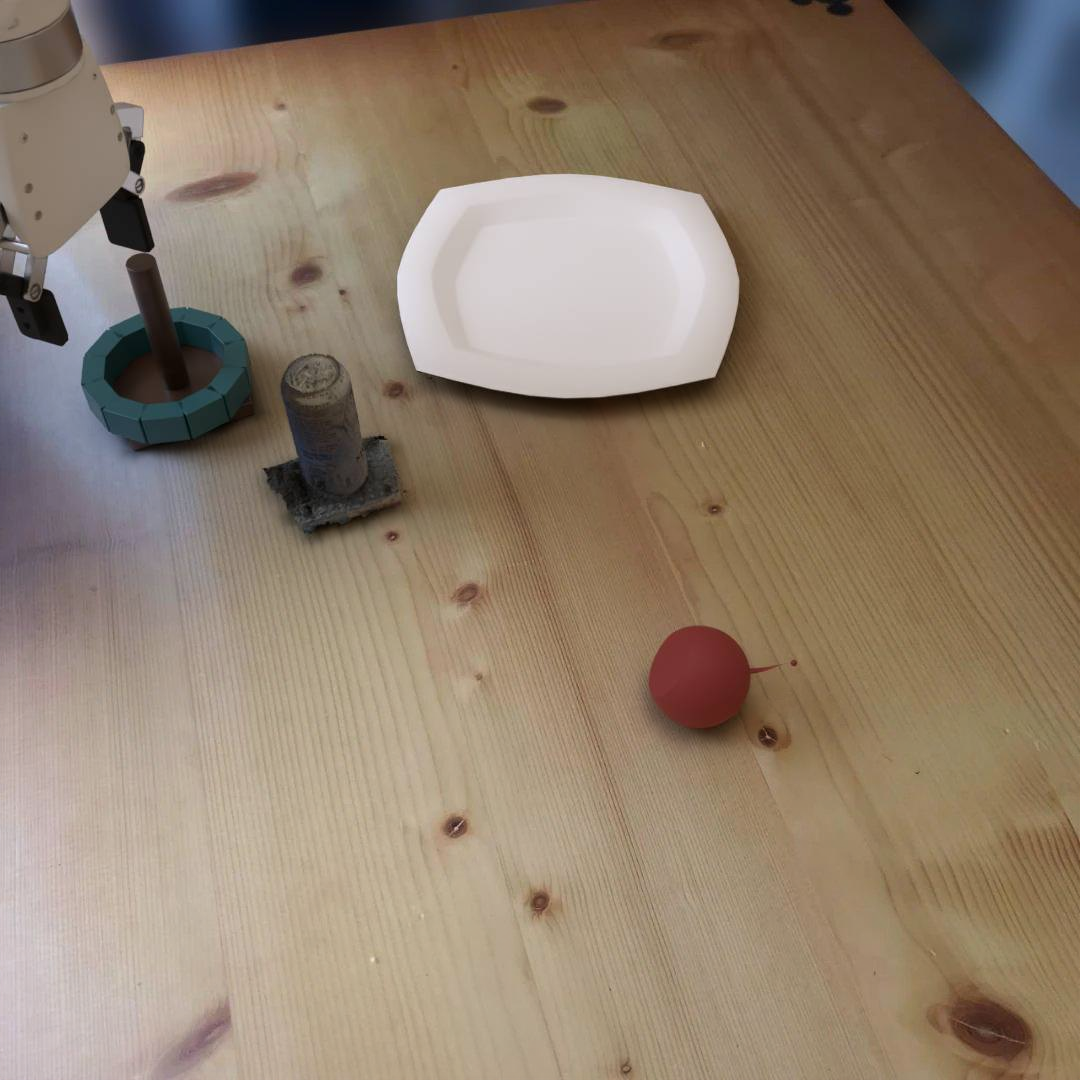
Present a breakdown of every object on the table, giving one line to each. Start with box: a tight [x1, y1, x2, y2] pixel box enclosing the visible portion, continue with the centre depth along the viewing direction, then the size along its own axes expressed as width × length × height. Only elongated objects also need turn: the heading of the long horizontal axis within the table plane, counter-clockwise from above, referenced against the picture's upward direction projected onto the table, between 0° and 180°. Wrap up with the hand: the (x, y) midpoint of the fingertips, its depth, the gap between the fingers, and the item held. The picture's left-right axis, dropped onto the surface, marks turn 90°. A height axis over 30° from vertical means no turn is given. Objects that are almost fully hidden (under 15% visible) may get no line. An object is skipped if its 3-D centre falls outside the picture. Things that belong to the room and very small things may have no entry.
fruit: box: [648, 624, 798, 729], centre depth 78 cm, size 6×6×8 cm
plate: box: [396, 173, 740, 400], centre depth 103 cm, size 27×27×2 cm
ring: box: [80, 306, 252, 445], centre depth 95 cm, size 12×12×2 cm
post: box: [113, 252, 256, 452], centre depth 92 cm, size 9×9×12 cm
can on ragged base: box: [262, 352, 403, 535], centre depth 86 cm, size 9×8×12 cm
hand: (90, 290), depth 83 cm, fingers open, 9 cm apart
